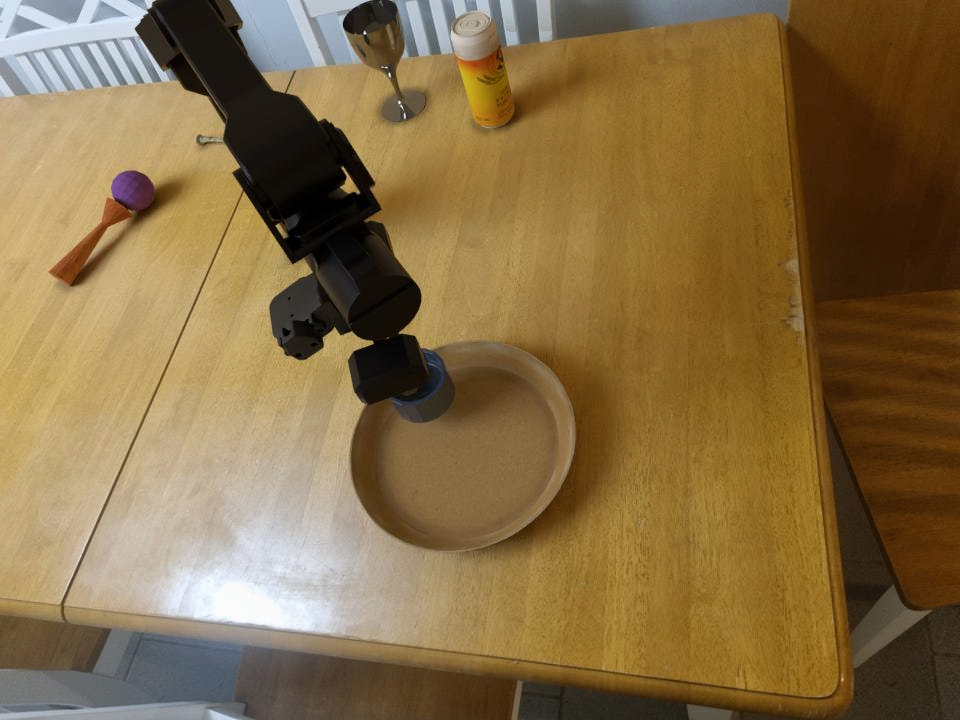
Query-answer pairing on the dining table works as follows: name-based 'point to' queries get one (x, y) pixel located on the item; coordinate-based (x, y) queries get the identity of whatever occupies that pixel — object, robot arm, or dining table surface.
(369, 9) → the wine glass
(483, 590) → the dining table surface
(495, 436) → the plant saucer
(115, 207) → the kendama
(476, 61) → the beer can
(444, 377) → the bowl
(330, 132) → the robot arm
